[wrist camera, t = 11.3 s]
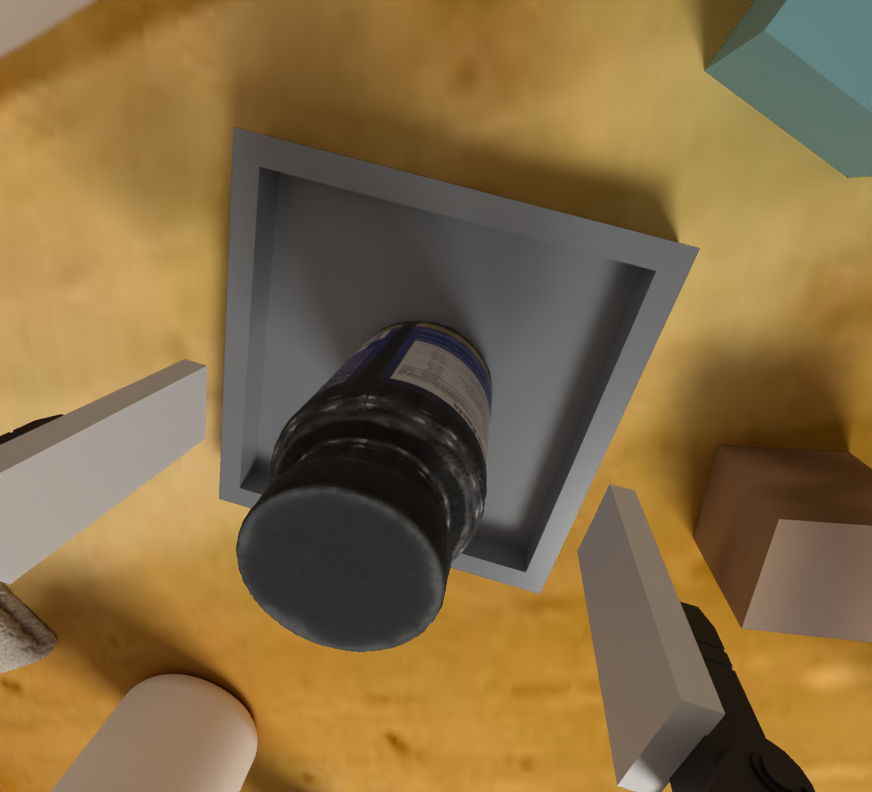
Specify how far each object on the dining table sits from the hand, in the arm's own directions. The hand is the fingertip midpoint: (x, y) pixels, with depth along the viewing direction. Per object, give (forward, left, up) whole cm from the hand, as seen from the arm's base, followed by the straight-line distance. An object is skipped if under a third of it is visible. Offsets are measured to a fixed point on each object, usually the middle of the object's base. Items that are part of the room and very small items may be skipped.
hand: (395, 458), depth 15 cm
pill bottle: (0, 0, -6) cm, 6 cm away
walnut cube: (-16, +1, -7) cm, 17 cm away
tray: (0, 0, -6) cm, 6 cm away
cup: (+10, +30, -7) cm, 32 cm away
